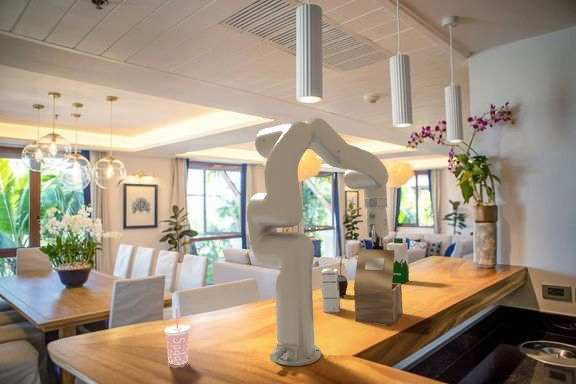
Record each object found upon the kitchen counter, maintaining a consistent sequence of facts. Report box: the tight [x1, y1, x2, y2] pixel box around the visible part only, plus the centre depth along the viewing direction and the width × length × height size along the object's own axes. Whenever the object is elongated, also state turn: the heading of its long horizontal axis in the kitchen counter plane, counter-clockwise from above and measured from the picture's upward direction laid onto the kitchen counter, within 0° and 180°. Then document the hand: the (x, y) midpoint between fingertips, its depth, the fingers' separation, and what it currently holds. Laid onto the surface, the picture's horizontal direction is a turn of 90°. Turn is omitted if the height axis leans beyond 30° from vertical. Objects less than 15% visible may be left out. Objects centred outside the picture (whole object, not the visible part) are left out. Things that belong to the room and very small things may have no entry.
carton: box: [353, 283, 404, 326], centre depth 126 cm, size 14×12×10 cm
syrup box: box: [320, 268, 341, 313], centre depth 136 cm, size 6×6×14 cm
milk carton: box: [386, 237, 410, 285], centre depth 178 cm, size 9×9×20 cm
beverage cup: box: [164, 307, 191, 365], centre depth 95 cm, size 6×6×14 cm
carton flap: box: [353, 248, 395, 293], centre depth 123 cm, size 14×12×1 cm
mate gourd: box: [338, 256, 349, 298], centre depth 157 cm, size 8×8×15 cm
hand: (378, 257), depth 128 cm, fingers closed
